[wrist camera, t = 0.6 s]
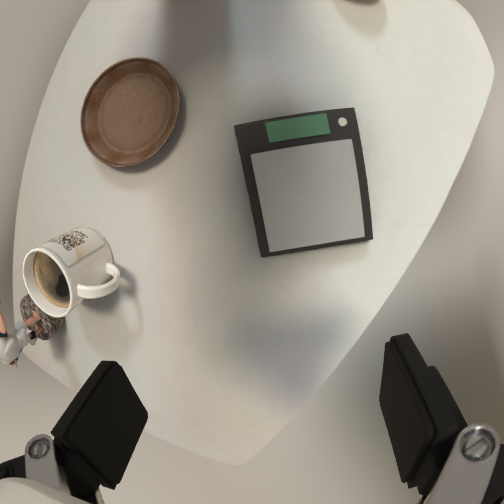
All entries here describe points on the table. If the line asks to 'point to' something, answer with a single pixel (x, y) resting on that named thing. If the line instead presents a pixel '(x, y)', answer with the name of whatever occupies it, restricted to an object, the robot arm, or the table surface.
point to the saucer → (129, 112)
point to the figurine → (26, 330)
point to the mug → (69, 271)
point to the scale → (306, 181)
